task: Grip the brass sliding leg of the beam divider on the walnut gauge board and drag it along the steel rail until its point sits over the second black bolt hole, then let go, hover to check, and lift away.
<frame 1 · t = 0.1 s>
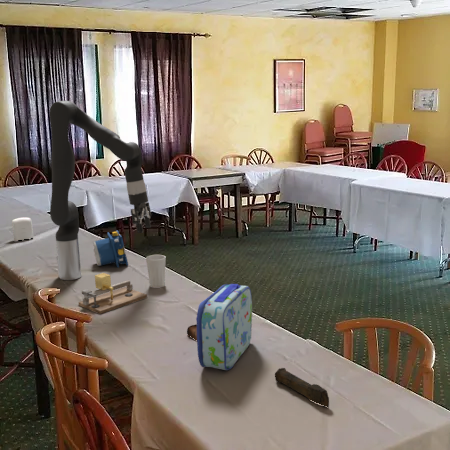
hand: (144, 230, 245), 22 cm above the table, tool pointing down, fingers open, 8 cm apart
cup: (157, 285, 245), on the table
blue piece: (111, 264, 276), on the table
sunglasses case: (216, 335, 197), on the table
gauge board: (113, 301, 229), on the table
lunch box: (226, 356, 181), on the table
hand tool: (304, 394, 158), on the table
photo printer: (23, 240, 324), on the table
sliding leg: (106, 287, 227), point 6 cm above the table, slide at 0.0 cm
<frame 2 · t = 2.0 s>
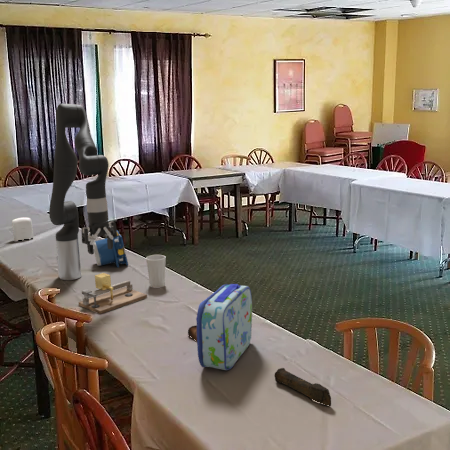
hand: (100, 251, 224), 20 cm above the table, tool pointing down, fingers open, 8 cm apart
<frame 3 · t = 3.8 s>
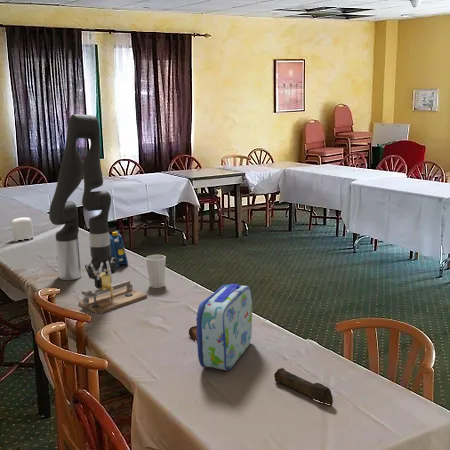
hand: (103, 286, 228), 6 cm above the table, tool pointing down, fingers closed on sliding leg, 4 cm apart
sliding leg: (106, 287, 227), point 6 cm above the table, slide at 0.0 cm, touching gripper
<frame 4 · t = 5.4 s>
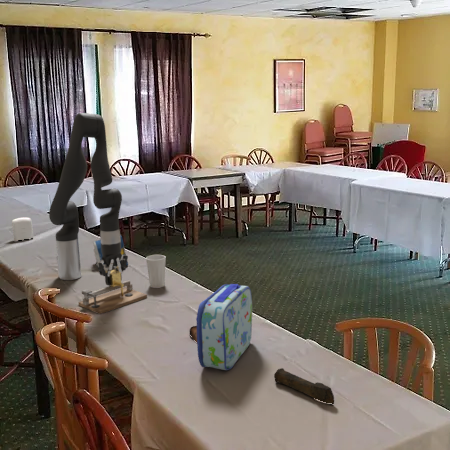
hand: (113, 283, 231), 6 cm above the table, tool pointing down, fingers closed on sliding leg, 4 cm apart
sliding leg: (116, 283, 230), point 6 cm above the table, slide at 4.9 cm, touching gripper
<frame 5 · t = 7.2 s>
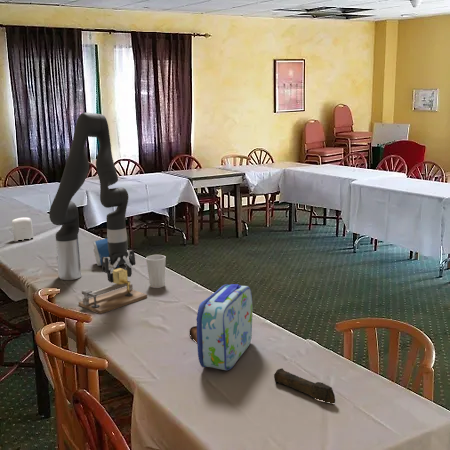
hand: (120, 279, 233), 7 cm above the table, tool pointing down, fingers open, 8 cm apart
sunglasses case: (219, 337, 195), on the table, touching lunch box
lunch box: (226, 356, 181), on the table, touching sunglasses case
sliding leg: (122, 281, 232), point 6 cm above the table, slide at 8.0 cm
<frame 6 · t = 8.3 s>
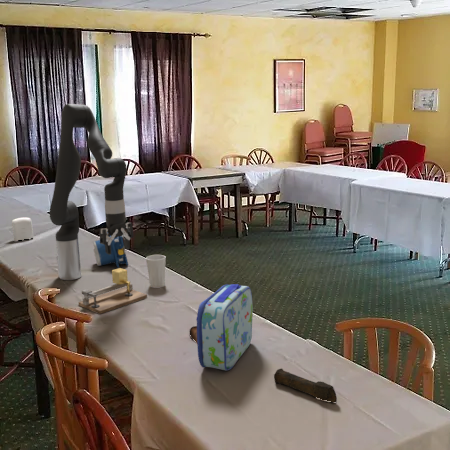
hand: (117, 251, 231), 18 cm above the table, tool pointing down, fingers open, 8 cm apart
sunglasses case: (219, 337, 195), on the table
lunch box: (226, 356, 181), on the table
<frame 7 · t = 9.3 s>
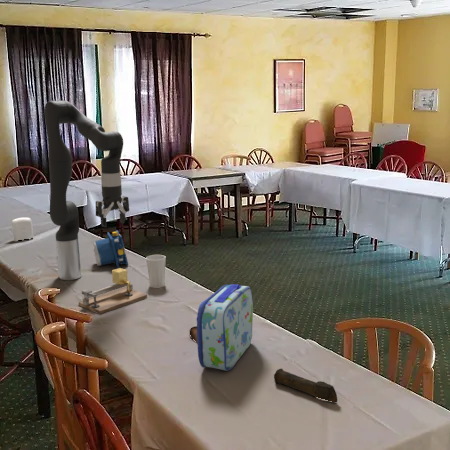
hand: (113, 224, 233), 28 cm above the table, tool pointing down, fingers open, 8 cm apart
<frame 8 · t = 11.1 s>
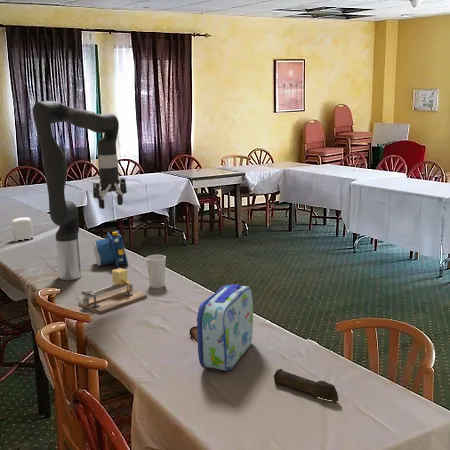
hand: (111, 206, 235), 34 cm above the table, tool pointing down, fingers open, 8 cm apart
at the end: sliding leg slide at 8.0 cm; the gripper is holding nothing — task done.
